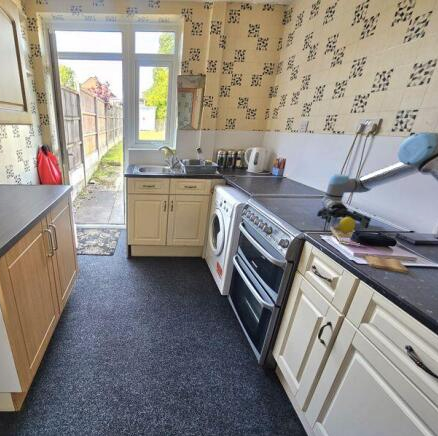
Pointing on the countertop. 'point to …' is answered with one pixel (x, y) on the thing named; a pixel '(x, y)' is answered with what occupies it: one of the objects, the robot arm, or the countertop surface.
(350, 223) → the lemon
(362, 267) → the countertop surface
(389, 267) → the board
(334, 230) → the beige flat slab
